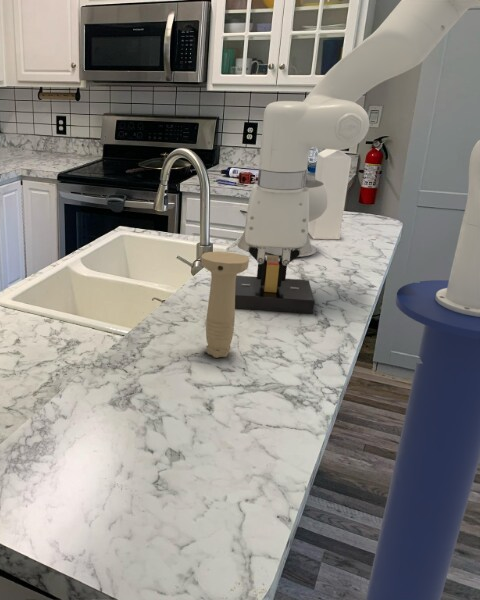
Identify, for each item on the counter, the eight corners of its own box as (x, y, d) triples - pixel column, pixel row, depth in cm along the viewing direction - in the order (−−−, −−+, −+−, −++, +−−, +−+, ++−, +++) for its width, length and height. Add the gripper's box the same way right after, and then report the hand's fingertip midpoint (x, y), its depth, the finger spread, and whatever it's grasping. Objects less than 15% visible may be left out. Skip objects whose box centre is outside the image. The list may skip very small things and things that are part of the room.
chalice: (252, 239, 143) (258, 175, 138) (314, 241, 141) (323, 176, 135) (257, 258, 131) (264, 188, 125) (326, 261, 128) (336, 190, 123)
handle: (201, 343, 94) (206, 249, 88) (243, 351, 91) (252, 255, 85) (192, 356, 90) (197, 259, 84) (235, 365, 87) (244, 265, 81)
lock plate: (307, 292, 112) (309, 279, 111) (312, 314, 103) (314, 299, 102) (229, 287, 115) (230, 274, 114) (227, 307, 106) (228, 293, 105)
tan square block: (264, 281, 111) (266, 253, 109) (275, 281, 110) (278, 254, 108) (264, 291, 106) (267, 263, 104) (276, 292, 105) (279, 264, 103)
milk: (333, 232, 148) (347, 139, 139) (339, 239, 142) (354, 143, 134) (307, 232, 148) (319, 139, 140) (312, 239, 143) (325, 142, 135)
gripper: (330, 177, 102) (316, 279, 109) (232, 174, 106) (225, 273, 113) (335, 186, 96) (320, 295, 103) (231, 182, 100) (223, 287, 107)
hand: (270, 283), depth 108 cm, fingers closed on tan square block, 2 cm apart
